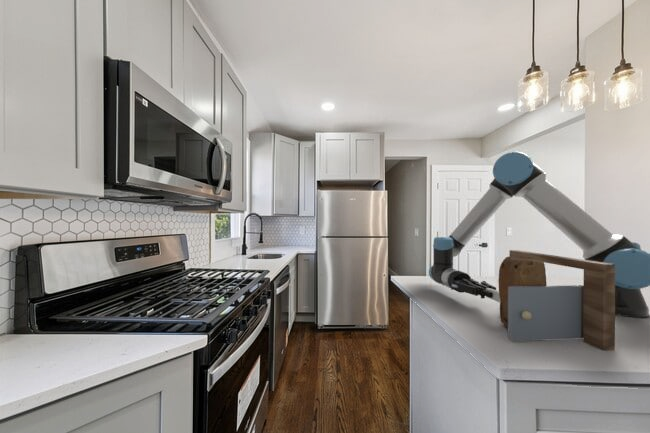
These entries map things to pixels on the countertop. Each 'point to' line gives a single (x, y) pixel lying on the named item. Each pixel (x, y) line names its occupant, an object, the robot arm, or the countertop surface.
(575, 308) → the door
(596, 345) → the door frame
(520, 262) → the brown elongated rounded part
